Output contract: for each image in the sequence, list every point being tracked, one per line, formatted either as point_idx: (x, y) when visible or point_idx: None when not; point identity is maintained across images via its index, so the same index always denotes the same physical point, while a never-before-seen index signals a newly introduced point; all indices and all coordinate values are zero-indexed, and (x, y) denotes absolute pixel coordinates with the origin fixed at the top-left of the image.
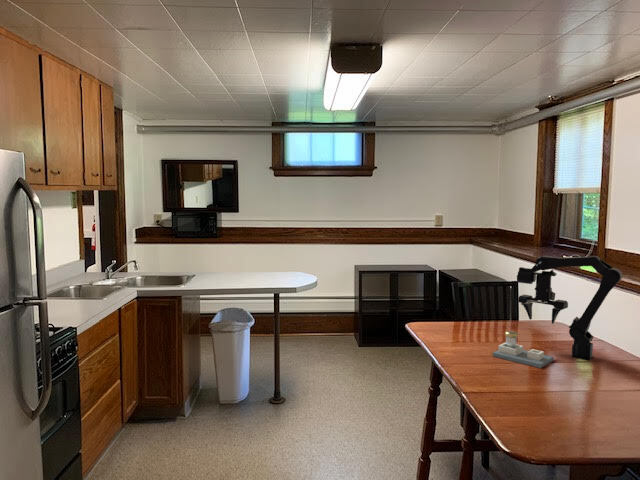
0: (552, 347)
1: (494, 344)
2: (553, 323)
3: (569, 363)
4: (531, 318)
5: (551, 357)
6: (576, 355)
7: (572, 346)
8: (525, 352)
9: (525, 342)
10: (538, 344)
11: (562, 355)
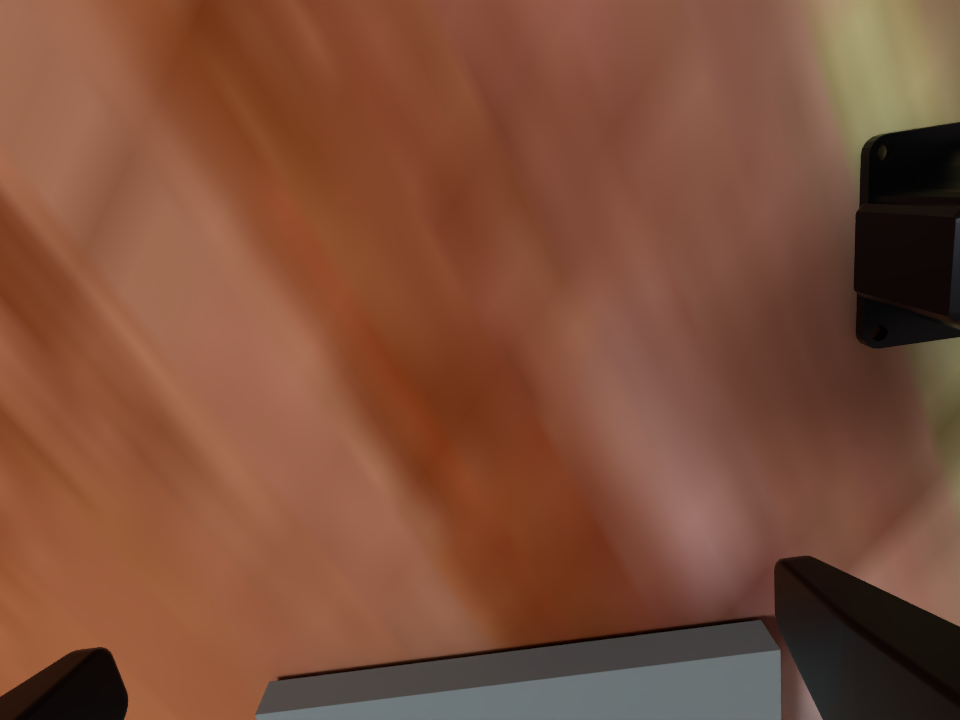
0: (510, 135)
1: (61, 622)
2: (801, 566)
3: (905, 556)
4: (92, 674)
5: (774, 685)
6: (927, 319)
7: (937, 317)
8: None
9: (163, 237)
10: (317, 168)
11: (750, 363)
